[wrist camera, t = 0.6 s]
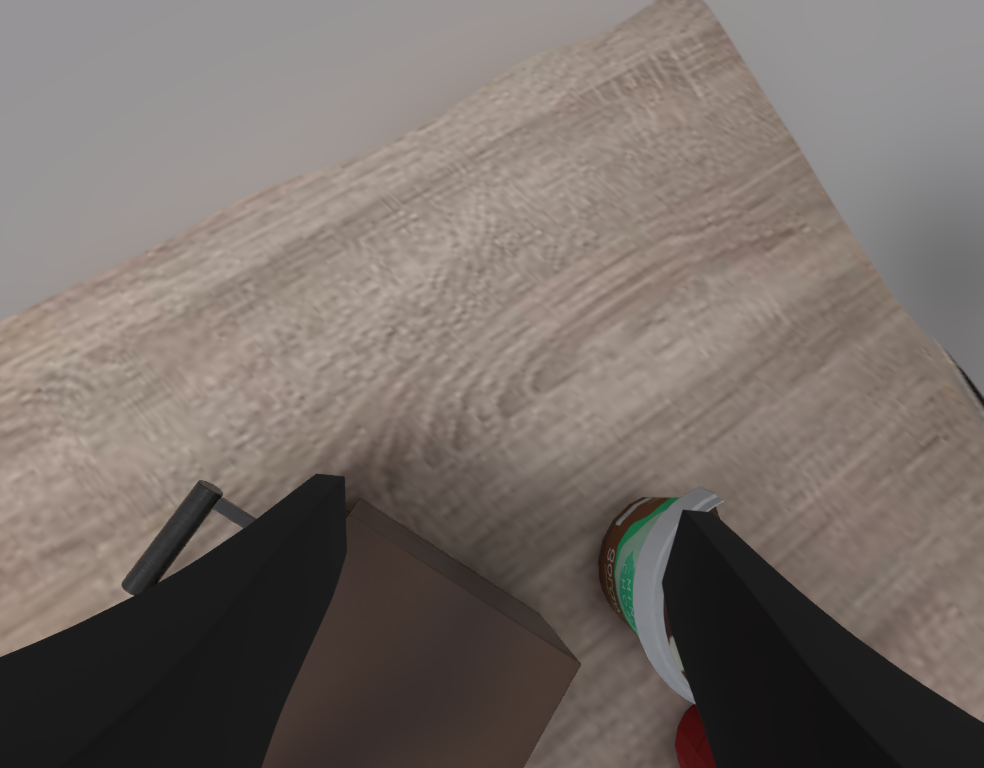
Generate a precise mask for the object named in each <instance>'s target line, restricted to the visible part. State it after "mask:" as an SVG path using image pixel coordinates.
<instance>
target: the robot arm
mask: <svg viewBox="0 0 984 768" xmlns="http://www.w3.org/2000/svg"><path fill="white" fill-rule="evenodd" d="M346 554H347V533H346V502H345V477H344V476H334V475H324V474H315V475H314V476H313V477H311V478H310V479H309V480H307V481H306V482H305V483H303V484H302V485H301V486H299V487H298V488H297V489H295V490H294V491H293V492H292V493H290V494H289V495H288V496H286V497H285V498H284V499H282V500H281V501H280V502H279V503H277V504H276V505H275V506H273V507H272V508H271V509H269V510H268V511H267V512H265V513H264V514H263V515H261V516H260V517H259V518H257V519H256V520H255V521H253V522H252V523H251V524H249V525H248V526H247V527H245V528H244V529H242V530H241V531H240V532H238V533H237V534H235V535H234V536H232V537H231V538H229V539H228V540H226V541H225V542H223V543H222V544H220V545H219V546H217V547H216V548H214V549H213V550H211V551H210V552H208V553H207V554H205V555H204V556H202V557H201V558H199V559H198V560H196V561H195V562H193V563H191V564H190V565H188V566H186V567H185V568H183V569H181V570H180V571H178V572H177V573H175V574H173V575H171V576H170V577H168V578H166V579H164V580H162V581H161V582H159V583H157V584H155V585H154V586H152V587H150V588H148V589H147V590H145V591H143V592H141V593H139V594H137V595H135V596H133V597H131V598H129V599H127V600H125V601H123V602H121V603H119V604H117V605H115V606H113V607H111V608H109V609H107V610H105V611H103V612H101V613H99V614H97V615H95V616H93V617H91V618H89V619H87V620H85V621H83V622H81V623H79V624H77V625H74V626H72V627H70V628H68V629H66V630H63V631H61V632H59V633H57V634H54V635H52V636H50V637H47V638H45V639H43V640H41V641H38V642H36V643H34V644H31V645H29V646H26V647H24V648H21V649H19V650H17V651H14V652H12V653H9V654H7V655H4V656H2V657H0V768H261V767H262V765H263V762H264V759H265V756H266V753H267V750H268V747H269V744H270V742H271V739H272V736H273V733H274V730H275V727H276V724H277V722H278V719H279V717H280V714H281V712H282V709H283V707H284V705H285V702H286V700H287V697H288V695H289V693H290V691H291V689H292V686H293V684H294V682H295V680H296V678H297V675H298V673H299V671H300V669H301V667H302V664H303V662H304V660H305V658H306V656H307V653H308V651H309V649H310V647H311V645H312V643H313V640H314V638H315V636H316V634H317V632H318V629H319V627H320V625H321V623H322V620H323V618H324V616H325V614H326V611H327V609H328V607H329V605H330V602H331V600H332V598H333V596H334V592H335V589H336V586H337V583H338V580H339V577H340V574H341V570H342V567H343V564H344V561H345V557H346ZM662 588H663V594H664V599H665V604H666V610H667V614H668V619H669V624H670V628H671V632H672V635H673V638H674V641H675V644H676V647H677V650H678V653H679V656H680V659H681V662H682V665H683V668H684V671H685V674H686V677H687V680H688V683H689V686H690V689H691V692H692V695H693V698H694V701H695V704H696V707H697V710H698V712H699V715H700V718H701V721H702V724H703V727H704V730H705V733H706V736H707V739H708V742H709V746H710V749H711V752H712V756H713V759H714V763H715V766H716V768H984V723H983V722H981V721H980V720H978V719H976V718H975V717H973V716H971V715H970V714H968V713H967V712H965V711H963V710H962V709H960V708H959V707H957V706H956V705H954V704H953V703H951V702H949V701H948V700H946V699H945V698H943V697H942V696H940V695H938V694H937V693H935V692H934V691H932V690H931V689H929V688H928V687H926V686H924V685H923V684H921V683H920V682H919V681H917V680H916V679H914V678H913V677H911V676H910V675H908V674H907V673H905V672H904V671H902V670H901V669H899V668H898V667H897V666H895V665H894V664H892V663H891V662H890V661H888V660H887V659H886V658H884V657H883V656H881V655H880V654H879V653H877V652H876V651H874V650H873V649H872V648H870V647H869V646H868V645H866V644H865V643H863V642H862V641H861V640H859V639H858V638H857V637H855V636H854V635H853V634H852V633H850V632H849V631H848V630H846V629H845V628H844V627H842V626H841V625H840V624H839V623H837V622H836V621H835V620H834V619H833V618H831V617H830V616H829V615H828V614H826V613H825V612H824V611H823V610H822V609H820V608H819V607H818V606H817V605H815V604H814V603H813V602H812V601H811V600H809V599H808V598H807V597H806V596H805V595H804V594H802V593H801V592H800V591H799V590H798V589H796V588H795V587H794V586H793V585H792V584H791V583H790V582H788V581H787V580H786V579H785V578H784V577H783V576H782V575H781V574H779V573H778V572H777V571H776V570H775V569H774V568H773V567H772V566H771V565H769V564H768V563H767V562H766V561H765V560H764V559H763V558H762V557H761V556H760V555H759V554H757V553H756V552H755V551H754V550H753V549H752V548H751V547H750V546H749V545H748V544H747V543H745V542H744V541H743V540H742V539H741V538H740V537H739V536H738V535H737V534H736V533H735V532H734V531H732V530H731V529H730V528H729V527H728V526H727V525H726V524H725V523H724V522H722V521H721V520H720V519H719V518H718V517H717V516H715V515H714V514H713V513H712V512H704V511H694V510H684V509H682V513H681V516H680V520H679V523H678V527H677V530H676V534H675V537H674V541H673V544H672V548H671V551H670V555H669V558H668V562H667V565H666V569H665V572H664V576H663V579H662Z"/></svg>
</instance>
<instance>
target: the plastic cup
mask: <svg viewBox="0 0 984 768" xmlns="http://www.w3.org/2000/svg"><path fill="white" fill-rule="evenodd" d="M675 746H676V751H677V757H678V762H679V764H680V767H681V768H716V766H715V763H714V759H713V756H712V752H711V749H710V746H709V742H708V739H707V736H706V733H705V730H704V727H703V724H702V721H701V718H700V715H699V712H698V710H697V707H696V705H694V706H692V707H691V708H690V709H689V710H688V711H687V712H686V713H685V715H684V717H683V719H682V720H681V722H680V724H679V726H678V730H677V736H676V743H675Z"/></svg>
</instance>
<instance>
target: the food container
mask: <svg viewBox="0 0 984 768" xmlns="http://www.w3.org/2000/svg"><path fill="white" fill-rule="evenodd" d="M723 502H725V499H721V498H717V495H716V493H713V492H711V491H709V490H707V489H704V488H702V487H700V486H699V487H697V488H695V489H693V490H692V491H690V492H688V493H686V494H684V495H683V496H682V497H681V498H656V497H643V498H641V499H639V500H637V501H635V502H633V503H632V504H630V505H628V506H627V507H626V508H625V509H624V510H623V511H622V512H621V513H620V514H619V515H618V516H617V517H616V518H615V519H614V520H613V522H612V524H611V526H610V527H609V529H608V531H607V533H606V535H605V537H604V539H603V541H602V546H601V551H600V556H599V561H598V563H599V575H600V582H601V586H602V589H603V592H604V594H605V596H606V599H607V601H608V602H609V604H610V605H611V607H612V608H613V610H614V611H615V612H616V613H617V614H618V615H619V616H620V617H621V618H622V619H623V620H624V622H625V623H626V624H627V625H628V626H629V627H630V628H631V629H632V630H633V631H634V632H635V633H636V634H637V635H638V636H639V638H640V642H641V644H642V646H643V648H644V650H645V653H646V655H647V657H648V659H649V661H650V662H651V664H652V665H653V667H654V668H655V670H656V671H657V673H658V674H659V675H660V677H661V678H662V679H663V680H664V681H665V682H666V683H667V684H668V685H669V687H670V688H672V689H673V690H674V691H675V692H677V693H678V694H679V695H680V696H682V697H683V698H684V699H686V700H688V701H690V702H692V703H694V704H695V701H694V698H693V695H692V692H691V689H690V686H689V683H688V680H687V677H686V674H685V671H684V668H683V665H682V662H681V659H680V656H679V653H678V650H677V647H676V644H675V641H674V638H673V635H672V632H671V628H670V624H669V619H668V614H667V610H666V604H665V599H664V594H663V588H662V579H663V576H664V572H665V569H666V565H667V562H668V558H669V555H670V551H671V548H672V544H673V541H674V537H675V534H676V530H677V527H678V523H679V520H680V516H681V513H682V509H684V510H694V511H704V512H712V513H713V514H714V515H715V516H717V517H718V518H719V519H720V517H719V515H718V512H717V509H716V506H717V505H719V504H721V503H723ZM695 705H696V704H695Z"/></svg>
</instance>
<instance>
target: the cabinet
mask: <svg viewBox="0 0 984 768" xmlns="http://www.w3.org/2000/svg"><path fill="white" fill-rule="evenodd" d="M346 533H347V554H346V557H345V561H344V564H343V567H342V570H341V574H340V577H339V580H338V583H337V586H336V589H335V592H334V596H333V598H332V600H331V602H330V605H329V607H328V609H327V611H326V614H325V616H324V618H323V620H322V623H321V625H320V627H319V629H318V632H317V634H316V636H315V638H314V640H313V643H312V645H311V647H310V649H309V651H308V653H307V656H306V658H305V660H304V662H303V664H302V667H301V669H300V671H299V673H298V675H297V678H296V680H295V682H294V684H293V686H292V689H291V691H290V693H289V695H288V697H287V700H286V702H285V705H284V707H283V709H282V712H281V714H280V717H279V719H278V722H277V724H276V727H275V730H274V733H273V736H272V739H271V742H270V744H269V747H268V750H267V753H266V756H265V759H264V762H263V765H262V767H261V768H523V767H524V766H525V764H526V762H527V760H528V759H529V757H530V755H531V753H532V751H533V750H534V748H535V746H536V744H537V742H538V741H539V739H540V737H541V735H542V733H543V732H544V730H545V728H546V726H547V724H548V723H549V721H550V719H551V717H552V716H553V714H554V712H555V710H556V708H557V707H558V705H559V703H560V701H561V699H562V698H563V696H564V694H565V692H566V690H567V689H568V687H569V685H570V683H571V682H572V680H573V678H574V676H575V674H576V673H577V671H578V669H579V667H580V665H581V663H580V662H579V661H578V660H577V658H576V657H575V656H574V655H573V653H572V652H571V651H570V650H569V649H568V647H567V646H566V645H565V644H564V643H563V641H562V640H561V639H560V638H559V637H558V635H557V634H556V633H555V632H554V630H553V629H552V628H551V627H550V626H549V624H548V623H547V622H546V621H545V620H544V618H543V617H542V616H541V615H540V614H539V613H538V612H536V611H534V610H533V609H531V608H530V607H528V606H527V605H525V604H524V603H522V602H521V601H519V600H517V599H516V598H514V597H513V596H511V595H510V594H508V593H507V592H505V591H504V590H502V589H500V588H499V587H497V586H496V585H494V584H493V583H491V582H490V581H488V580H487V579H485V578H483V577H482V576H480V575H479V574H477V573H476V572H474V571H473V570H471V569H470V568H468V567H466V566H465V565H463V564H462V563H460V562H459V561H457V560H456V559H454V558H453V557H451V556H449V555H448V554H446V553H445V552H443V551H442V550H440V549H439V548H437V547H435V546H434V545H432V544H431V543H429V542H428V541H426V540H425V539H423V538H422V537H420V536H418V535H417V534H415V533H414V532H412V531H411V530H409V529H408V528H406V527H405V526H403V525H401V524H400V523H398V522H397V521H395V520H394V519H392V518H391V517H389V516H388V515H386V514H384V513H383V512H381V511H380V510H378V509H377V508H375V507H374V506H372V505H371V504H369V503H367V502H366V501H364V500H363V499H361V498H360V499H359V500H358V502H357V503H356V505H355V506H354V508H353V509H352V511H351V512H350V514H349V515H348V517H347V519H346Z"/></svg>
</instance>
